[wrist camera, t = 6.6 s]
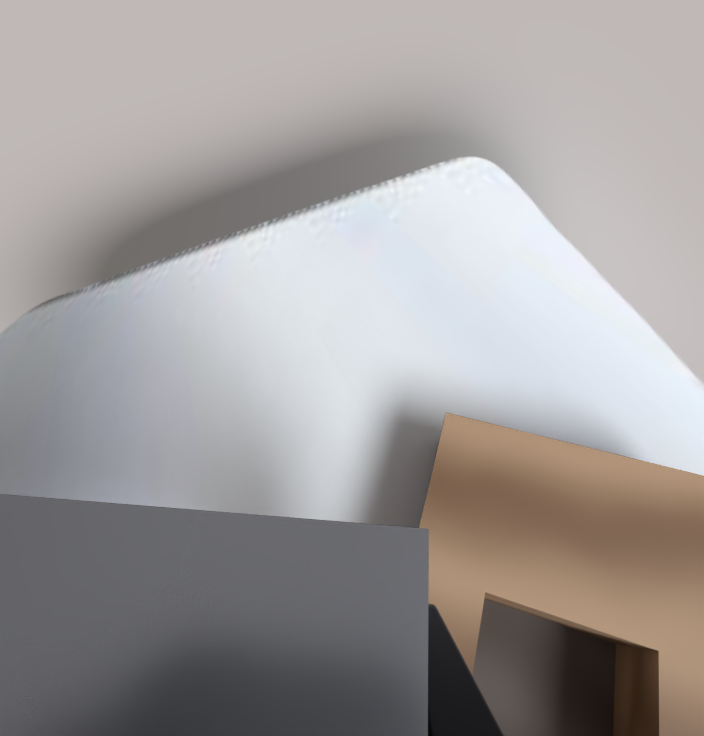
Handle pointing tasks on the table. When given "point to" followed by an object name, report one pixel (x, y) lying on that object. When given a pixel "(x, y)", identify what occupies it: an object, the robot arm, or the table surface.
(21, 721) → the grey rectangular block
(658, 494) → the bore block
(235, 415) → the table surface
